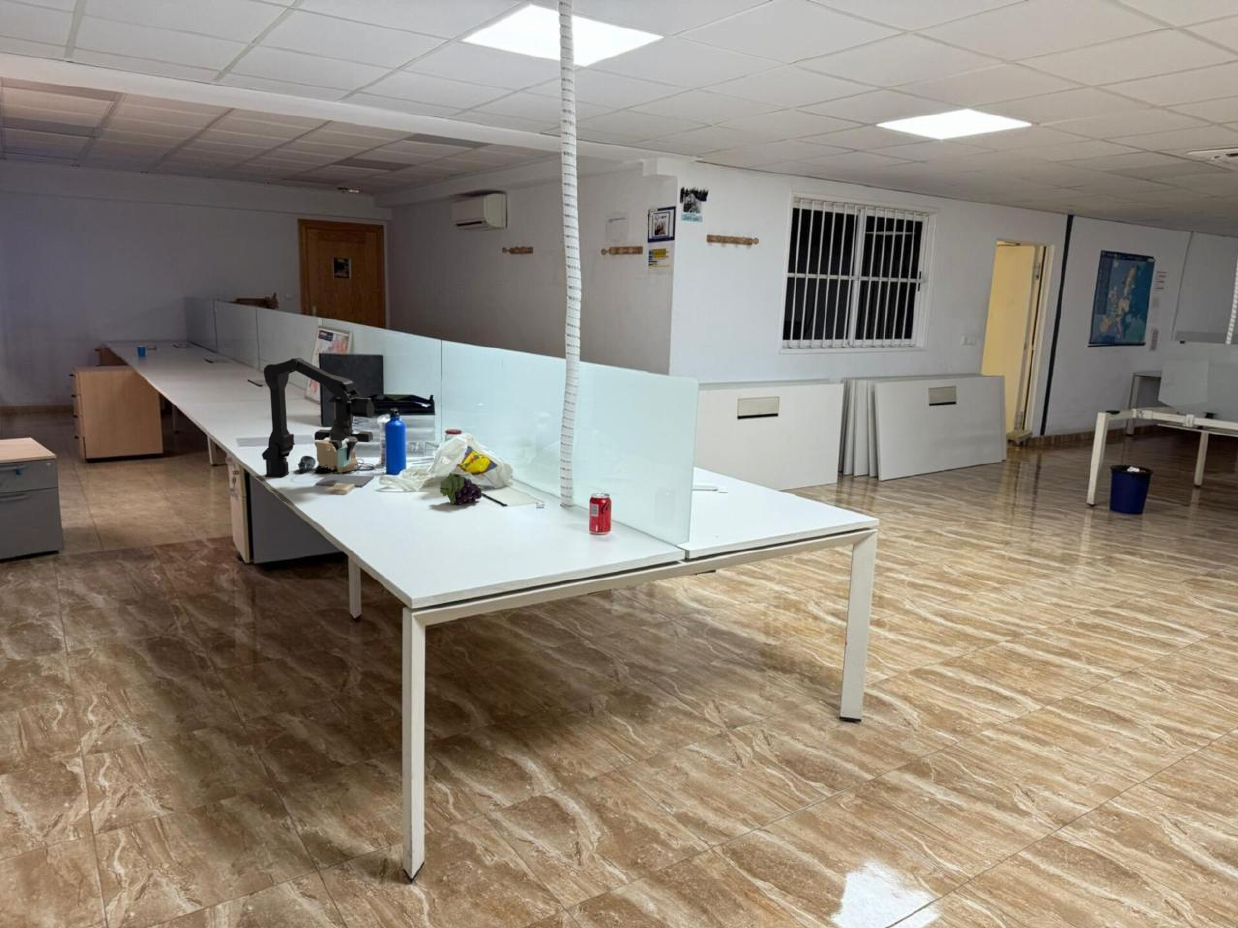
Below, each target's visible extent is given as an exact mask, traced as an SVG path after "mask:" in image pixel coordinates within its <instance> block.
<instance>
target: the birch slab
mask: <svg viewBox="0 0 1238 928" xmlns="http://www.w3.org/2000/svg"><path fill="white" fill-rule="evenodd" d="M354 489H356V487H355V485H354V484H340V483H337V484H335V485H334V486H330V487H329V488H328V494H329V495H330V494H333V495H334V494H335V495H349V493H351V492H352V491H354Z"/></svg>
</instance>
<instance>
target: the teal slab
mask: <svg viewBox="0 0 1238 928" xmlns="http://www.w3.org/2000/svg"><path fill="white" fill-rule="evenodd" d="M344 445H345V444H344ZM337 451H338V467H345V466H346V465H348V464H349V463H351V456H350V458H349V460H348V461H347V445H345V446H343V447H341V448H340V449H338V450H337Z"/></svg>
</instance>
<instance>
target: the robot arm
mask: <svg viewBox="0 0 1238 928" xmlns="http://www.w3.org/2000/svg"><path fill="white" fill-rule="evenodd" d="M294 372H297V373H299V374H301V375H302V376H305V377H307V378H308V379H311V380H313V381H315V382H316V383H318V384H320V385H321V386H323V387H324V388H325V389H326V390H327V391H328V392H329V393H330V394H332V396H331V398H330V399H328V401H327V402H328V403H333V404H334V419H333V424H332V427H331V428H330V429H318V430H317V431H315V432H314V440H315V441H323V440H326V439H328V440H329V441H328V442H329V443H332V444H333V445H334V447H335V449H336V451H337V450H338V449H340V448H341V447H342V445H343V441H345V440H346V439H347V441H346V443H345V444H347V461H348V460H349V458H350V456H351V453H352V450H354V448H355V446H356V445H357V443H370V442H371V441H373V440H374V434H373V432H372V431H364V430H363V431H360V432H358V433H354V429H353V421H354V418H363V419H365V418H366V419H372V418H373V416H375V415H374V414H375V406H374V402H372V398H371V397H361V395H360V393H359V392H358V390H357V389H356V388H355V385H354V382H353V381H352V380H351V379H349V378H346V377H343V376H338V375H334V374H331V373H329V372H328V371H325V370H323V369H322V368H319V367H317V366H316V365H314V364H312V363H310V362H308V361H306V360H305V359H303V358H301V357H294V358H291V359H289V360H287V361H284V362H283V361H282V362H276V363H272V364H267V365H265V367H264V368H263V376H264V381H265V383H266V385H267V387H268V389H269V395H270V408H271V409H270V411H271V426H272V428H271V433H270V435H269V437H268V443H267V444H268V445H267V447H266V449H265V450H264V452H262V453H261V457H262V460H263V461H265V470H266V471H265V474H264V477H271V478H272V477H274V478H284V477H285V476H287V475H288V474H290V472H289V461H287V460H288V459H287V458H288V457H289V455H290V453H291V451H292V450H293V449H294V446H295V445H296V443H295V440H294V439H295V434H294V433H290V432H289V430H288V423H287V404H286V387H287V385H288V382H289V376H290V374H293V373H294ZM337 454H338V451H337Z"/></svg>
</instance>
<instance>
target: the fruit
mask: <svg viewBox="0 0 1238 928" xmlns="http://www.w3.org/2000/svg"><path fill="white" fill-rule="evenodd" d="M438 489H439V492H440V494H441V495H442V496H443V497H446V496H447V499H449V501H450V503H451V505H454V504H456V505H461V504H463V503H464V502H466V503H471V502H473V503H475V502H476V501H477V500H479V499H481V498H482V495H483V494H482V489H481V488H480V487H479V486H478V485H477V484H476V483H473V482H472V480H471V479H470V478H466V477H465V476H461V474H459V473H453V472H449V474H448V475H446V478H444V480H443V481H441V482H440V487H439V488H438Z"/></svg>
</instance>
